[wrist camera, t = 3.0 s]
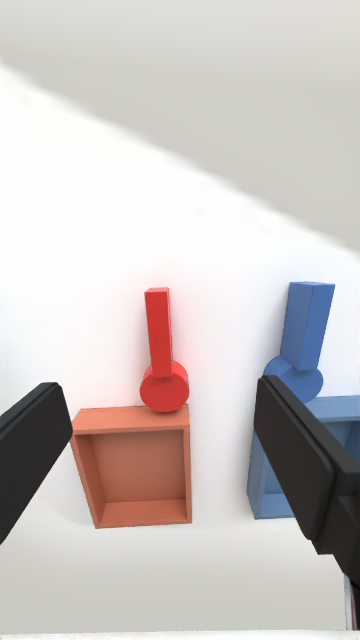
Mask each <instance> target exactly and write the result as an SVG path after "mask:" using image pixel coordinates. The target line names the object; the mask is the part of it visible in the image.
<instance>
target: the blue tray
mask: <svg viewBox="0 0 360 640" xmlns="http://www.w3.org/2000/svg"><path fill="white" fill-rule="evenodd" d="M304 405H305V406H306V407H307V408H308V409H309V410H310V411H311V412H312V413H313V415H314V416H315V417H316V418H317V419H318V420H319V421H320V422H321V423H322V424H323V425H324V426H325V427H326V428H327V430H328V431H329V432H330V433H331V434H332V435H333V436H334V437H335V438H336V439H337V440H338V441H339V442H340V443H341V445H342V446H343V447H344V448H345V449H346V450H347V451H348V452H349V453H350V454H351V455H352V456H353V457H354V458H355V460H356V461H357V462H358V463H359V464H360V395H359V396H338V397H318V398H314V399H312V400H311V401H309V402H307V403H305V404H304ZM247 496H248V499H249V503H250V506H251V509H252V512H253V515H254V518H255V520H257V519H274V518H292V517H295V516H294V514H293V512H292V510H291V508H290V505H289V503H288V501H287V499H286V497H285V495H284V493H283V490H282V488H281V486H280V484H279V482H278V480H277V478H276V476H275V473H274V471H273V469H272V467H271V465H270V463H269V461H268V458H267V456H266V454H265V452H264V450H263V448H262V446H261V444H260V441H259V439H258V437H257V435H256V433H255V430H254V429H253V438H252V448H251V457H250V466H249V475H248V484H247Z"/></svg>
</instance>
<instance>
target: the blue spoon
mask: <svg viewBox="0 0 360 640" xmlns="http://www.w3.org/2000/svg"><path fill="white" fill-rule="evenodd" d="M334 288H335V284H328V283H317V282H291V283H290V289H289V296H288V303H287V309H286V316H285V323H284V330H283V337H282V344H281V351H280V356H278V357H276V358H274V359H273V360H271V361H270V362H269V364H268V365H267V366H266V368H265V370H264V374H263V375H277V376H278V377H279V378H280V379H281V380H282V381H283V382H284V383H285V385H286V386H287V387H288V388H289V389H290V390H291V391H292V392H293V393H294V394H295V395H296V396H297V397H298V398H299V400H300V401H301V402H302V403H303V404H305V403H307V402H309V401H311V400H312V399H314V398H315V397H316V396H317V395H318V393H319V392H320V390H321V388H322V385H323V377H322V374H321V372H320V371H319V370H318V369H317V366H318V362H319V357H320V352H321V348H322V343H323V339H324V334H325V330H326V325H327V320H328V316H329V311H330V307H331V302H332V297H333V293H334Z"/></svg>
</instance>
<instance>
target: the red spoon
mask: <svg viewBox="0 0 360 640" xmlns="http://www.w3.org/2000/svg"><path fill="white" fill-rule="evenodd" d="M145 302H146V312H147V323H148V333H149V343H150V354H151V365H150V366H149V367H148V368H147V369H146V371H145V373H144V376H143V380H142V383H141V386H140V396H141V399H142V401H143V402H144V403H145V404H146V406H148V407H149V408H151V409H153V410H155V411H159V412H171V411H174V410H177V409H178V408H180V407H181V406H183V405H184V404H185V402H186V401H187V399H188V396H189V384H188V376H187V372H186V370H185V369H184V368H183V366H181V365H180V364H179V363H177V362H175V361H173V356H172V338H171V320H170V303H169V288H168V287H167V288H150V289H148V290H147V291H146V292H145Z"/></svg>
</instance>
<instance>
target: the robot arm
mask: <svg viewBox="0 0 360 640" xmlns="http://www.w3.org/2000/svg"><path fill="white" fill-rule="evenodd" d="M254 430H255V433H256V435H257V437H258V439H259V441H260V444H261V446H262V448H263V450H264V452H265V454H266V456H267V458H268V461H269V463H270V465H271V467H272V469H273V471H274V473H275V476H276V478H277V480H278V482H279V484H280V486H281V488H282V490H283V493H284V495H285V497H286V499H287V501H288V503H289V505H290V508H291V510H292V512H293V514H294V516H295V518H296V520H297V522H298V525H299V527H300V529H301V531H302V533H303V535H304V536H305V537H306V538H307V539H308V540H311V541H312V544H313V546H314V548H315V550H316V552H317V554H318V555H320V554H321V555H324V554H333V555H334V557H335V559H336V561H337V563H338V565H339V567H340V568H341V570H342V572H343V573H344V592H345V615H346V631H343V630H342V631H341V630H220V631H154V632H153V631H152V632H105V633H61V634H59V633H58V634H13V635H0V640H360V464H359V463H358V462H357V461H356V460H355V458H354V457H353V456H352V455H351V454H350V453H349V452H348V451H347V450H346V449H345V448H344V447H343V446H342V445H341V443H340V442H339V441H338V440H337V439H336V438H335V437H334V436H333V435H332V434H331V433H330V432H329V431H328V430H327V428H326V427H325V426H324V425H323V424H322V423H321V422H320V421H319V420H318V419H317V418H316V417H315V416H314V415H313V413H312V412H311V411H310V410H309V409H308V408H307V407H306V406H305V405H304V404H303V403H302V402H301V401H300V400H299V398H298V397H297V396H296V395H295V394H294V393H293V392H292V391H291V390H290V389H289V388H288V387H287V386H286V385H285V383H284V382H283V381H282V380H281V379H280V378H279V377H278V376H277V375H263V376H262V377H261V378H259V379H258V384H257V394H256V404H255V413H254ZM72 434H73V427H72V423H71V420H70V416H69V412H68V409H67V405H66V401H65V398H64V394H63V390H62V387H61V386H60V385H59V384H58V383H56V382H47V383H41V384H39V385H38V386H37V387H36V388H34V389H33V390H32V391H31V392H30V393H28V394H27V395H26V396H25V397H23V398H22V399H21V400H20V401H18V402H17V403H16V404H15V405H13V406H12V407H11V408H10V409H9V410H7V411H6V412H5V413H4V414H2V415H1V416H0V545H1V543H3V541H4V540H5V539H6V537H7V536H8V534H9V533H10V531H11V529H12V528H13V526H14V525H15V523H16V522H17V520H18V519H19V517H20V516H21V514H22V512H23V511H24V510H25V508H26V506H27V505H28V503H29V502H30V500H31V499H32V497H33V496H34V494H35V493H36V491H37V490H38V488H39V487H40V485H41V483H42V482H43V480H44V479H45V477H46V476H47V474H48V473H49V471H50V470H51V468H52V467H53V465H54V463H55V462H56V460H57V459H58V457H59V456H60V454H61V453H62V451H63V450H64V448H65V447H66V445H67V443H68V442H69V440H70V439H71V437H72Z"/></svg>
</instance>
